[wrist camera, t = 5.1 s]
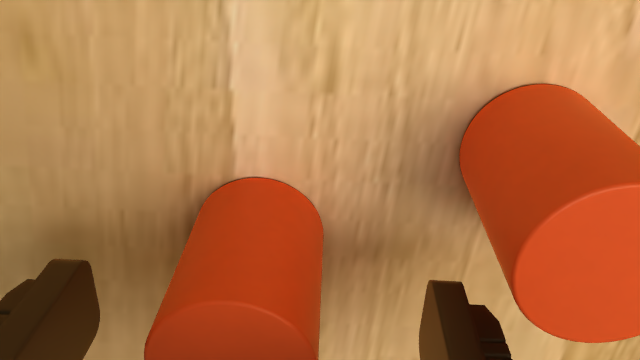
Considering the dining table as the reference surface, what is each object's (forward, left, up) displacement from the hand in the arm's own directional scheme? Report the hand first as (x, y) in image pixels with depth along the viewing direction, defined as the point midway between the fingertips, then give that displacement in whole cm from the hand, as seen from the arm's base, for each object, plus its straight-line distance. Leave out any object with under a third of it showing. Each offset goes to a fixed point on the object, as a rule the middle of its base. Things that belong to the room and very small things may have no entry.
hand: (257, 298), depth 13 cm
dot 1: (+7, +3, -3) cm, 8 cm away
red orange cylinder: (0, 0, -3) cm, 3 cm away
